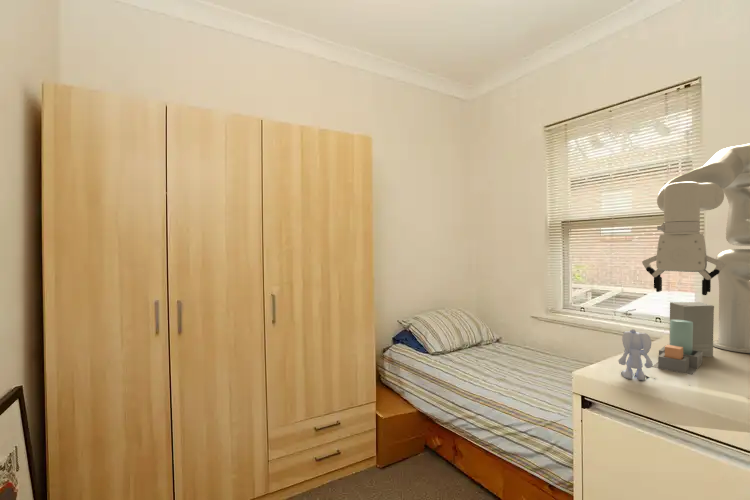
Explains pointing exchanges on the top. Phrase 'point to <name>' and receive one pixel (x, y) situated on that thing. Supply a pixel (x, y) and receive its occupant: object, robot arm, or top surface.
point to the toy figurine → (635, 353)
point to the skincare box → (697, 323)
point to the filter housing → (680, 362)
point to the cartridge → (682, 335)
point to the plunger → (674, 352)
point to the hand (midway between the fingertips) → (681, 293)
